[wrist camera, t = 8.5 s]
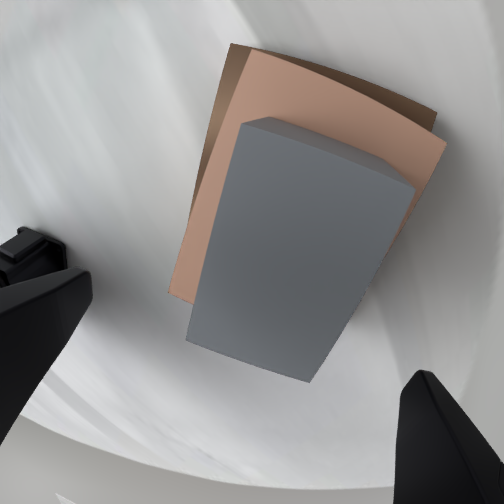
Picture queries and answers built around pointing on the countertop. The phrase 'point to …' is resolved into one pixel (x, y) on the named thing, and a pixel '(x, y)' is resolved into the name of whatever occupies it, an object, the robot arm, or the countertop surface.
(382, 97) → the base slab
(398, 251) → the countertop surface
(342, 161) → the charcoal block
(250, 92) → the top slab
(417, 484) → the robot arm
